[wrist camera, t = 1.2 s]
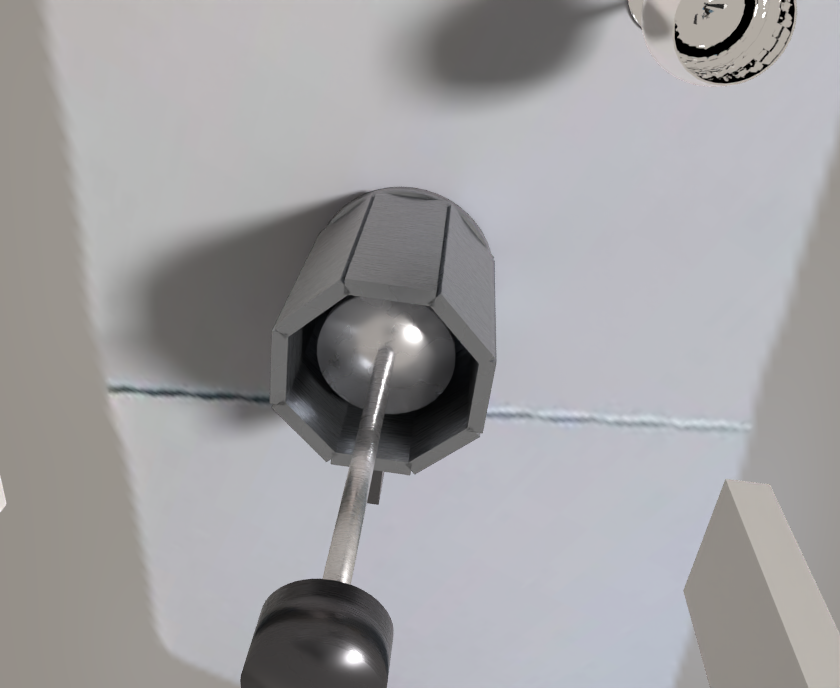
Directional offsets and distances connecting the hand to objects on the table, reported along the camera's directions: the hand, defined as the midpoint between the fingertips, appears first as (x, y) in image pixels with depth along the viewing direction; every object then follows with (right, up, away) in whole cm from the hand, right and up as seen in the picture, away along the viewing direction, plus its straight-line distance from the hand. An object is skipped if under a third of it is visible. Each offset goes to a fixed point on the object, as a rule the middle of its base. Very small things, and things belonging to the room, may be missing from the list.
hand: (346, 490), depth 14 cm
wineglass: (+14, +21, +27) cm, 37 cm away
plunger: (0, +2, +27) cm, 28 cm away
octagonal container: (0, +6, +37) cm, 37 cm away
